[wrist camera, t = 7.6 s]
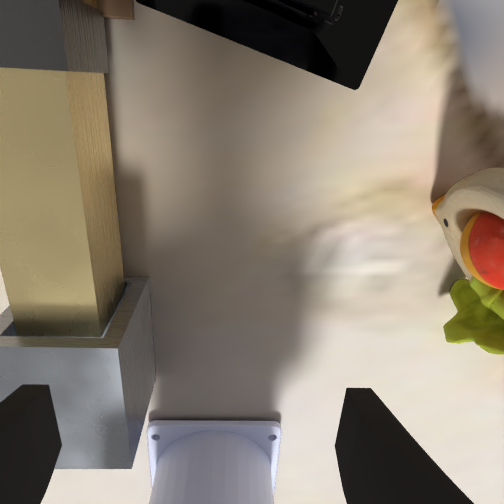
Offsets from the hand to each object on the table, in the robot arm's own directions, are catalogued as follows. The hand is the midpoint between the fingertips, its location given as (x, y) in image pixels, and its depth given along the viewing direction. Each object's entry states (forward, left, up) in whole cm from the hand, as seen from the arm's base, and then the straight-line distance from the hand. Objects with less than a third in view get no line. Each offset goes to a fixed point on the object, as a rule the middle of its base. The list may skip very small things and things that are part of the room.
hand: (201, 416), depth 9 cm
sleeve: (-5, +6, -10) cm, 13 cm away
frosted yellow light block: (+5, +6, -10) cm, 13 cm away
